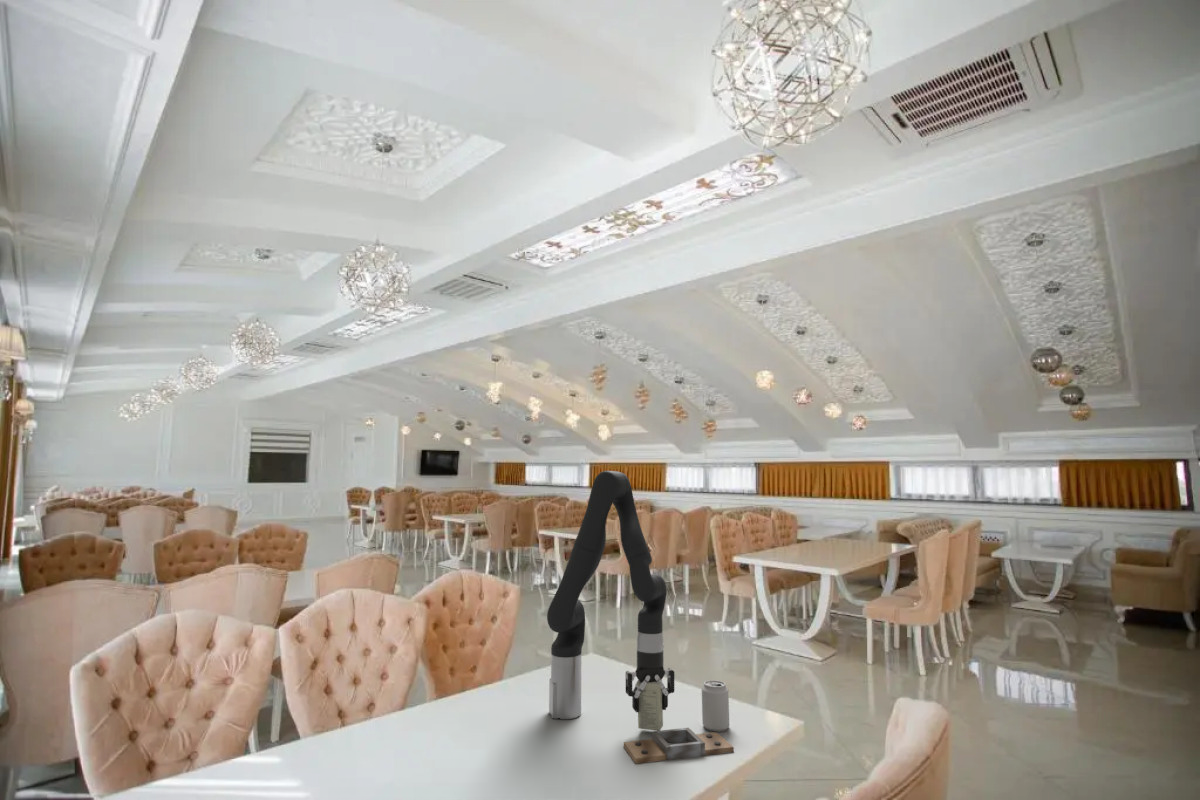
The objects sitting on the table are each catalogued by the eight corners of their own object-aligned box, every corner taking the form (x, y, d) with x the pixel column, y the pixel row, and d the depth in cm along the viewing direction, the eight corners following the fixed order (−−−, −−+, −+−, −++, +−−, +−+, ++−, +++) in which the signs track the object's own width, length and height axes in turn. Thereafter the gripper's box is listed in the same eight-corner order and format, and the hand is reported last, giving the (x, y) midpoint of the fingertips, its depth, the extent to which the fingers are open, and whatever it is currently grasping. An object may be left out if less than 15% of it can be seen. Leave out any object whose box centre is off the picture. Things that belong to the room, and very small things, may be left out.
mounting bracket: (635, 764, 146) (635, 750, 146) (623, 746, 155) (623, 734, 156) (734, 752, 152) (733, 739, 153) (716, 736, 162) (715, 724, 163)
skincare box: (663, 726, 166) (663, 679, 168) (659, 732, 162) (659, 684, 164) (641, 722, 168) (641, 677, 170) (636, 728, 164) (637, 681, 166)
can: (729, 733, 164) (728, 687, 166) (702, 731, 165) (701, 685, 167) (729, 723, 171) (728, 679, 173) (703, 721, 173) (701, 677, 175)
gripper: (669, 643, 173) (669, 703, 171) (621, 646, 170) (621, 707, 167) (678, 650, 166) (679, 713, 164) (629, 653, 163) (629, 717, 160)
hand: (650, 710), depth 166 cm, fingers closed on skincare box, 7 cm apart
